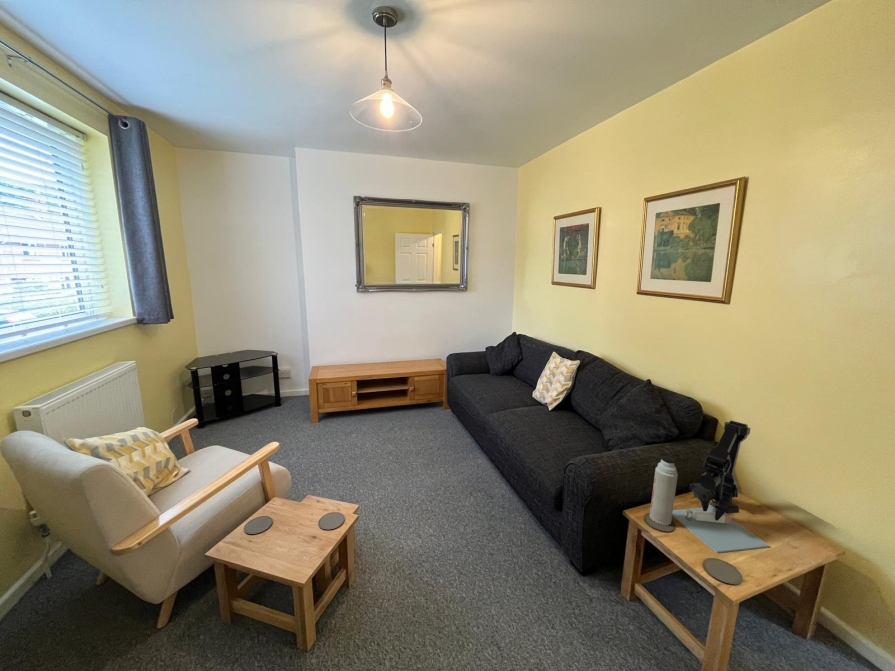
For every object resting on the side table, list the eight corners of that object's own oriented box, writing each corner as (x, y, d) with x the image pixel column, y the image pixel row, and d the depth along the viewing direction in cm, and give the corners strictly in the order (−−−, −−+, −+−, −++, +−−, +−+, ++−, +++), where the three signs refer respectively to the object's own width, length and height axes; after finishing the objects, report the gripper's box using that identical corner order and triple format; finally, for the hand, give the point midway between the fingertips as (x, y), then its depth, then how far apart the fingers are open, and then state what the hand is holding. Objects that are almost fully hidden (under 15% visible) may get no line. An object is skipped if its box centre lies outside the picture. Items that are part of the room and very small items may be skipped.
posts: (710, 509, 157) (711, 501, 156) (718, 514, 154) (719, 506, 153) (681, 517, 151) (682, 508, 150) (689, 522, 148) (690, 513, 147)
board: (713, 507, 158) (713, 506, 158) (769, 547, 135) (769, 545, 135) (667, 511, 154) (667, 510, 154) (716, 552, 131) (716, 551, 131)
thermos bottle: (647, 518, 149) (654, 458, 145) (652, 510, 155) (660, 452, 151) (668, 528, 144) (676, 465, 140) (673, 519, 149) (681, 458, 145)
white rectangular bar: (696, 520, 148) (697, 513, 147) (693, 516, 150) (694, 510, 150) (729, 523, 146) (730, 517, 146) (725, 519, 149) (726, 513, 148)
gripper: (680, 471, 155) (676, 504, 157) (718, 494, 137) (713, 531, 139) (702, 470, 157) (698, 502, 159) (742, 493, 139) (737, 529, 140)
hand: (710, 515), depth 149 cm, fingers open, 5 cm apart
